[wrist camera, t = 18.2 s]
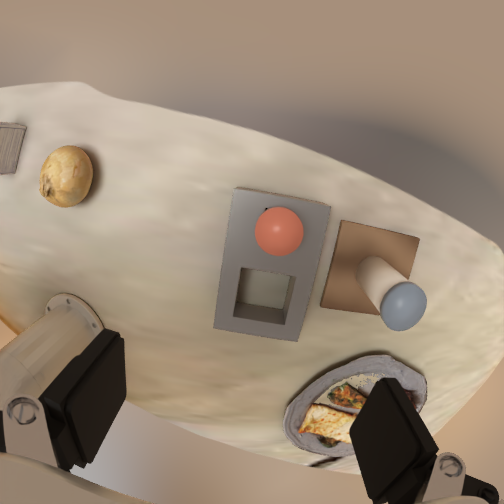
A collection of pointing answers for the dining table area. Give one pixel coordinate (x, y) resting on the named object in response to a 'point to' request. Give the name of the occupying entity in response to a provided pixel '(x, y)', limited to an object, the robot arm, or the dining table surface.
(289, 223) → the red round-topped peg
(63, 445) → the robot arm
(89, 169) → the onion
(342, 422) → the food plate
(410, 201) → the dining table surface
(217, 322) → the housing
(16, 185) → the dining table surface
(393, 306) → the cylinder
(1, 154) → the medicine box
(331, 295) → the pad
